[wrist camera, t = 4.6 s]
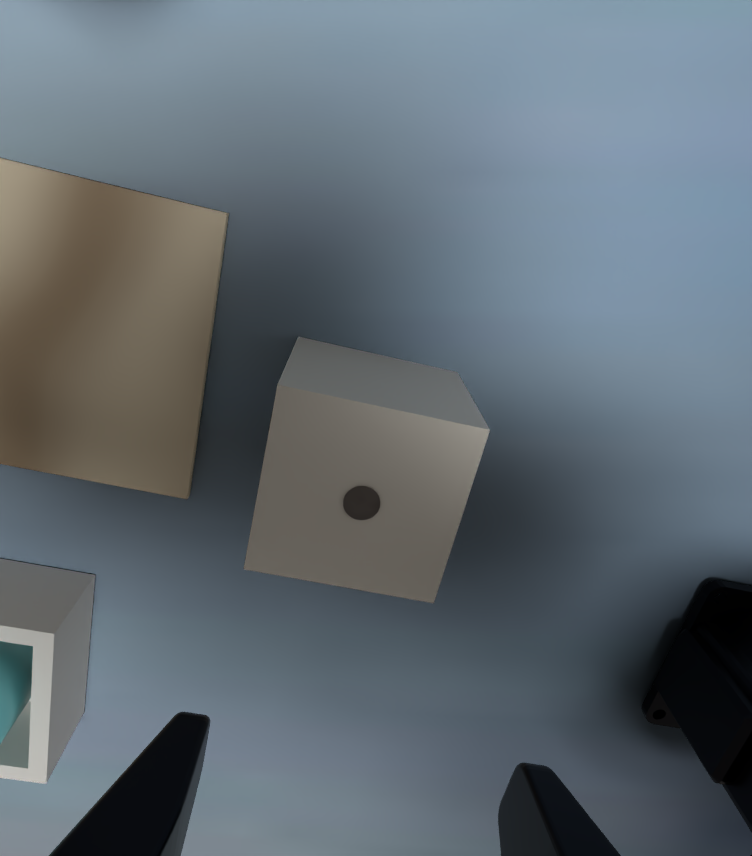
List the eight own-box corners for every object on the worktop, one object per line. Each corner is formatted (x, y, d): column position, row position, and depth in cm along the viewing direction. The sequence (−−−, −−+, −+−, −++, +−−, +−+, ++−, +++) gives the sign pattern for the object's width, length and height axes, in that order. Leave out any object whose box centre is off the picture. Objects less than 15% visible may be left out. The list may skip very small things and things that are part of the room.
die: (457, 371, 19) (490, 431, 14) (416, 510, 20) (433, 605, 16) (295, 335, 18) (273, 384, 13) (268, 480, 20) (240, 570, 15)
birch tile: (229, 213, 17) (226, 213, 16) (189, 495, 20) (187, 499, 19) (-115, 129, 16) (-124, 128, 15) (-99, 440, 19) (-106, 443, 18)
